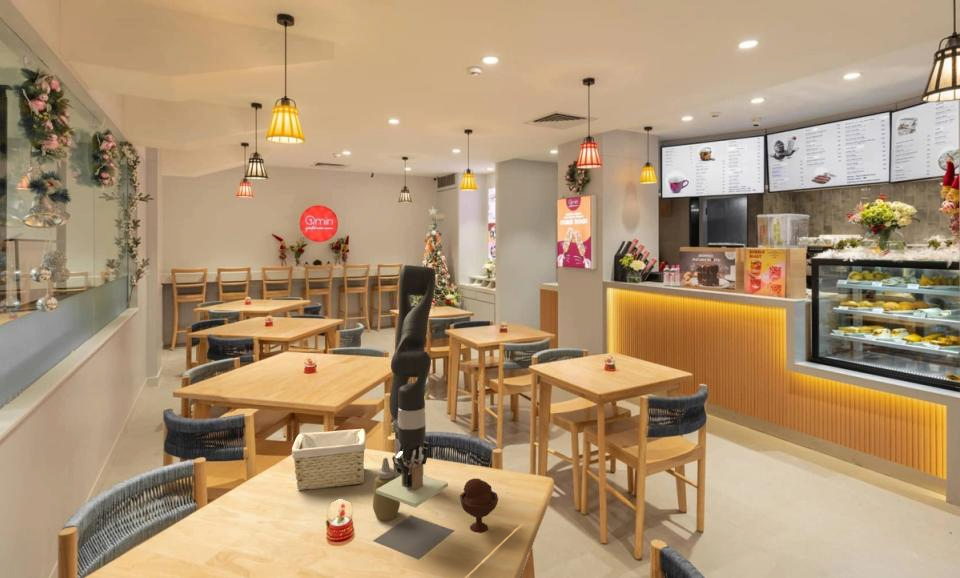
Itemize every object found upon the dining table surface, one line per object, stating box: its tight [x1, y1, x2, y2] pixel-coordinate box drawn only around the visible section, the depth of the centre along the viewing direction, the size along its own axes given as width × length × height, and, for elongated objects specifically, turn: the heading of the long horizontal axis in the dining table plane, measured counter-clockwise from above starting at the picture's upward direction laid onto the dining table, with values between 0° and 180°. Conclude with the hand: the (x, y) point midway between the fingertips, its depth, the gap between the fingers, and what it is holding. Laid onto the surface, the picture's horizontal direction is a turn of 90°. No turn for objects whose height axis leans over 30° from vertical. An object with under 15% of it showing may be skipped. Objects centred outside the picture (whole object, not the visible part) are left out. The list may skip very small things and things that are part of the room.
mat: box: [372, 514, 455, 561], centre depth 144 cm, size 16×16×1 cm
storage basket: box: [291, 428, 367, 490], centre depth 180 cm, size 24×16×15 cm
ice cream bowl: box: [459, 478, 499, 534], centre depth 147 cm, size 11×11×15 cm
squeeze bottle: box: [372, 457, 401, 522], centre depth 154 cm, size 8×8×18 cm
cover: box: [376, 461, 449, 508], centre depth 143 cm, size 14×14×7 cm
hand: (412, 483), depth 143 cm, fingers closed on cover, 3 cm apart
